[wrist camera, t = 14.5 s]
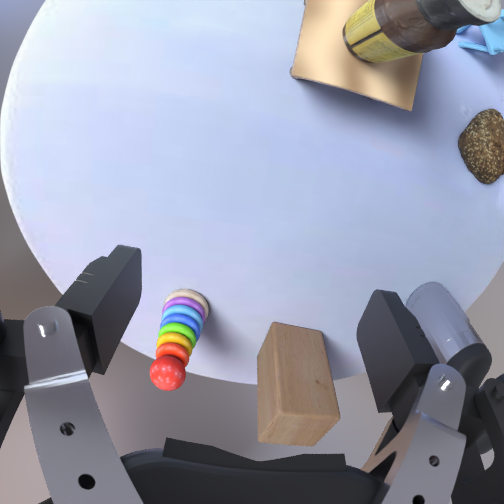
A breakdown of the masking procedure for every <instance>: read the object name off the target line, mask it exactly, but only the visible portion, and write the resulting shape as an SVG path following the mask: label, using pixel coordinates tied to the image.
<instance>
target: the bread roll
mask: <svg viewBox="0 0 504 504" xmlns="http://www.w3.org/2000/svg"><path fill="white" fill-rule="evenodd" d="M458 147H459V149H460V152H461V156H462V158H463V159H464V162H465V163H466V165H467V167H468V169H469V171H471V172H472V173H473V174H474V175H475V177H476V178H477V179H478V180H479V181H480V182H483V183H485V184H490V183H493V182H494V181H496V180H497V179H498V178H499V176H501V175H503V174H504V120H503V117H502V115H501V113H499V112H498V111H497V110H495V109H488V110H485V111H482V112H480V113H479V114H478V115H476V117H475V118H473V119H472V121H471V122H470V123H469V125H468V127H467V128H466V129H465V130H464V131H463V132H462V133H461V135H460V137H459V139H458Z"/></svg>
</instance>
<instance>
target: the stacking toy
mask: <svg viewBox="0 0 504 504" xmlns="http://www.w3.org/2000/svg"><path fill="white" fill-rule="evenodd" d="M162 315H163V316H162V322H161V325H160V331H159V335H158V337H159V338H158V340H157V350H156V358H157V359H156V360H155V361H154V362H153V363H152V365H151V368H150V377H151V380H152V382H153V383H154V384H155V385H156V386H157V387H158V388H160V389H162V390H166V391H171V390H175V389H177V388H179V387H180V386H181V385H182V384H183V382H184V380H185V377H186V372H185V367H186V366H187V364H188V362H189V357H190V356H191V354H192V349H193V348H194V347H195V344H196V342H197V340H198V339H199V336H200V333H201V331H202V329H203V325H204V323H205V320H206V318H207V316H208V305H207V302H206V300H205V299H204V298H203V297H202V296H201V295H200V294H198V293H197V292H195V291H192V290H188V289H179V290H176V291H173V292H172V293H170V294H169V295H168V296H167V298H166V299H165V302H164V307H163V311H162Z"/></svg>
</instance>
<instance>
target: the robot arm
mask: <svg viewBox="0 0 504 504" xmlns="http://www.w3.org/2000/svg"><path fill="white" fill-rule="evenodd" d="M141 291H142V268H141V250H140V249H139V248H135V247H129V246H124V245H118V246H117V247H116V248H115V249H114V250H113V251H112V252H111V254H110V255H109V256H108V257H103V256H102V257H100V258H98V259H96V260H94V261H93V262H91V263H90V264H89V265H88V266H87V267H86V268H85V269H84V271H83V272H82V274H80V275H79V276H78V278H77V279H76V281H74V282H73V284H72V285H71V286H70V287H69V288H68V290H67V291H66V292H65V293H64V295H63V296H62V297H61V298H60V300H59V301H58V302H57V303H56V305H55V306H46V307H41V308H39V309H36V310H34V311H33V312H31V313H30V314H29V315H28V316H27V318H26V319H25V320H8V319H3V317H2V314H1V311H0V448H1V445H2V443H3V440H4V438H5V435H6V433H7V431H8V428H9V426H10V424H11V421H12V419H13V417H14V415H15V413H16V411H17V408H18V406H19V404H20V402H21V400H22V398H23V396H24V394H25V399H26V405H27V411H28V416H29V421H30V425H31V430H32V434H33V438H34V443H35V447H36V451H37V454H38V458H39V461H40V465H41V468H42V471H43V474H44V478H45V480H46V484H47V487H48V490H49V493H50V495H51V497H50V498H49V499H47V500H45V501H43V502H41V503H39V504H448V503H449V500H450V497H451V499H452V504H504V374H502V375H500V376H499V377H498V378H496V379H494V378H489V379H487V380H486V381H485V382H484V384H483V385H482V386H481V387H480V388H479V386H480V384H481V382H482V381H483V379H484V377H485V375H486V374H487V373H488V371H489V369H490V366H491V362H492V357H491V354H490V352H489V350H488V349H487V347H486V346H485V344H484V343H483V341H482V340H481V338H480V337H479V335H478V334H477V333H476V331H475V330H474V328H473V327H472V325H471V324H470V323H469V318H468V317H467V316H466V314H465V313H464V312H463V310H462V309H461V307H460V306H459V305H458V303H457V302H456V301H455V299H454V298H453V297H452V296H451V294H450V293H449V292H448V291H446V290H445V288H444V287H443V286H442V285H441V284H439V283H435V282H432V283H427V284H425V285H422V286H421V287H419V288H418V289H417V290H415V291H414V292H413V294H412V295H411V296H410V298H409V299H408V302H407V305H406V307H405V306H404V304H403V303H402V301H401V299H400V297H399V296H398V294H397V293H396V292H391V291H384V290H375V291H374V292H373V294H372V296H371V298H370V300H369V302H368V305H367V307H366V309H365V311H364V313H363V315H362V317H361V320H360V322H359V324H358V328H357V341H358V345H359V348H360V351H361V354H362V357H363V361H364V364H365V367H366V371H367V374H368V377H369V381H370V384H371V388H372V391H373V395H374V398H375V402H376V405H377V409H378V413H380V412H392V415H393V417H392V418H391V419H390V420H389V422H388V423H387V426H386V427H385V429H384V431H383V433H382V435H381V437H380V439H379V441H378V443H377V444H376V446H375V448H374V450H373V452H372V453H371V455H370V457H369V459H368V460H367V462H366V463H365V465H364V466H363V467H362V468H361V469H358V468H355V467H351V466H348V465H346V461H345V456H344V454H301V455H296V456H291V457H286V458H281V459H275V460H269V461H254V460H251V459H248V458H245V457H242V456H239V455H236V454H233V453H230V452H227V451H224V450H222V449H219V448H216V447H213V446H209V445H203V444H197V443H192V442H186V441H181V440H176V439H171V438H166V442H165V446H164V448H155V449H145V450H141V451H135V452H132V453H129V454H126V455H124V456H122V457H119V455H118V453H117V451H116V449H115V447H114V444H113V442H112V440H111V437H110V435H109V433H108V430H107V428H106V426H105V423H104V421H103V418H102V416H101V413H100V410H99V408H98V405H97V402H96V400H95V397H94V394H93V391H92V388H91V385H90V382H89V377H90V375H91V373H92V372H95V373H99V374H102V375H104V374H105V372H106V370H107V368H108V365H109V363H110V361H111V359H112V357H113V355H114V353H115V351H116V348H117V346H118V344H119V342H120V340H121V338H122V336H123V334H124V332H125V330H126V328H127V326H128V324H129V322H130V320H131V318H132V316H133V314H134V312H135V310H136V308H137V306H138V304H139V301H140V297H141ZM478 388H479V389H478ZM492 448H493V450H494V461H493V463H492V465H491V466H490V467H489V468H488V469H487V470H484V466H483V463H482V460H481V456H480V454H484V453H486V452H488V451H489V450H491V449H492Z"/></svg>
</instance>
